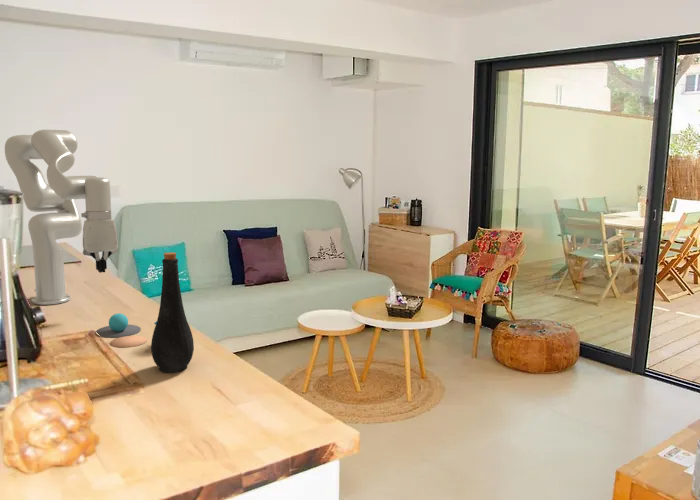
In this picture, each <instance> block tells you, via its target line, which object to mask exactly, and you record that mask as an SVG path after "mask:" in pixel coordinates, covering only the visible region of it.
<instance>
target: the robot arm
mask: <svg viewBox="0 0 700 500" xmlns="http://www.w3.org/2000/svg"><path fill="white" fill-rule="evenodd" d="M77 149H78V141H77V138H76V136H75V135H74V134H73V133H72V132H71V131H69V130H65V129H64V130H63V129H39V130H37V131H35V132H34V133H32V134H18V135H12V136H11V137H9V138H7V140H6V141H5V143H4V154H5V155H4V156H5V160H6V161H7V164H8V166H9V168H10V169H11V172H13V174H14V176H15V178H16V181H17V183H18V186H19V190H20V192H22V193H24V195H23V196H22V198H23V201H24V204H25V206H26V208H27V209H28V210H29V211H30V212H34V213H39V214H35V215H33V216H32V217H31V218H30V219H29V220H28V225H27V227H28V232H29V237H30V240H31V244H32V245H31V246H32V253H33V254H32V255H33V267H34V281H35V282H34V283H35V284H34V285H35V288H34V290H33V291H34V292H35V296H34V297H32V298H31V303H32V304H34V305H38V306H39V305H40V306H41V305H44V306H47V305H57V304H62V303H66V302H69V301H70V300H71V295H70V294H68V293H66V292H67V291H66V279H65V278H66V277H65V276H66V275H65V262H64V261H65V260H64V252H63V251H64V250H63V249H62V247H61V246H60V245H59V244H58V243H57V241H56V240H61V239H71V238H75V237H78V236H79V235H80V234H81V232H82V248H83V250H82V254H83V255H84V256H88V257H92V258H93V259H94V260H95V270H96V271H97V272H98V273H100V274H101V273H106V270H107V268H108V267H107V264H108V263H107V261H108V259H109V257H110V256H111V255H114V254H117V253H119V249H118V248H119V242H118V241H119V240H118V231H117V226H116V221H115V219H112V203H111V197H112V195H111V183H110V179H108V178H107V177H97V176H94V175H68V176H67V175H64V174H65V173H66V172H68V171H69V170H70V169H71V168H72V167H74V165H75V159H76V158H75V155H74V153H76V151H77ZM31 160H43V161H44V162H45V163H46V165H47V169H46V179H47V182H46V179H45V176H44V173H43V172H42V170H41V169H40V168H39V167H38V166H37V165H36V164H35V163H34V162H32V161H31ZM22 193H21V194H22ZM82 199H83V200H85V212H82V213H81V214H79V211H78V208H77V205H76V202H75V200H82ZM54 211H55V212H54ZM42 212H43V213H42ZM45 212H47V213H45ZM80 216H81V217H80ZM81 218H84V219H85V220H84V222H83V225H82V220H81ZM82 226H83V227H82ZM100 252H102V254H101V257H100Z"/></svg>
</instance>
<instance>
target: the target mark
mask: <svg viewBox="0 0 700 500" xmlns="http://www.w3.org/2000/svg"><path fill="white" fill-rule="evenodd" d="M141 331H142V330H141V327H140V326H138V325H135V324H129V323H128V326H127V328H126V329H125V330H123V331H121V332H115V331H113V330H112V329H111V328H110V327H109V325H106V326H103V327H100V328H98V329H97V330H95V332H97V333H98V334H99V335H100V336H101V337H102V338H108V339H109V338H110V339H113V338H114V339H116V338H119V337H125V336H135V334H136V335H137V334H138V333H140V332H141ZM100 336H99V337H100ZM101 337H100V338H101Z"/></svg>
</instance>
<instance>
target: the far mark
mask: <svg viewBox="0 0 700 500" xmlns="http://www.w3.org/2000/svg"><path fill="white" fill-rule="evenodd" d="M147 341H148V339H147V338H146V337H144V336H140V335H130V336H125V337H117V338H114V339H112V340H111V341H110V342H109V344H110V345H111V346H112V347H115V348H132V347H133V348H134V347H138V346H141V345H143V344H145V343H147Z"/></svg>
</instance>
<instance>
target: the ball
mask: <svg viewBox="0 0 700 500" xmlns="http://www.w3.org/2000/svg"><path fill="white" fill-rule="evenodd" d="M128 324H129V319H128V317H127V316H126V315H125V314H123V313H119V312H118V313H114V314H113V315H112V316H110V318H109V319H108V326H109V327H110V328H111V329H112V330H113V331H115V332H121V331H123V330H125V329H126V328H127V326H128Z"/></svg>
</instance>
